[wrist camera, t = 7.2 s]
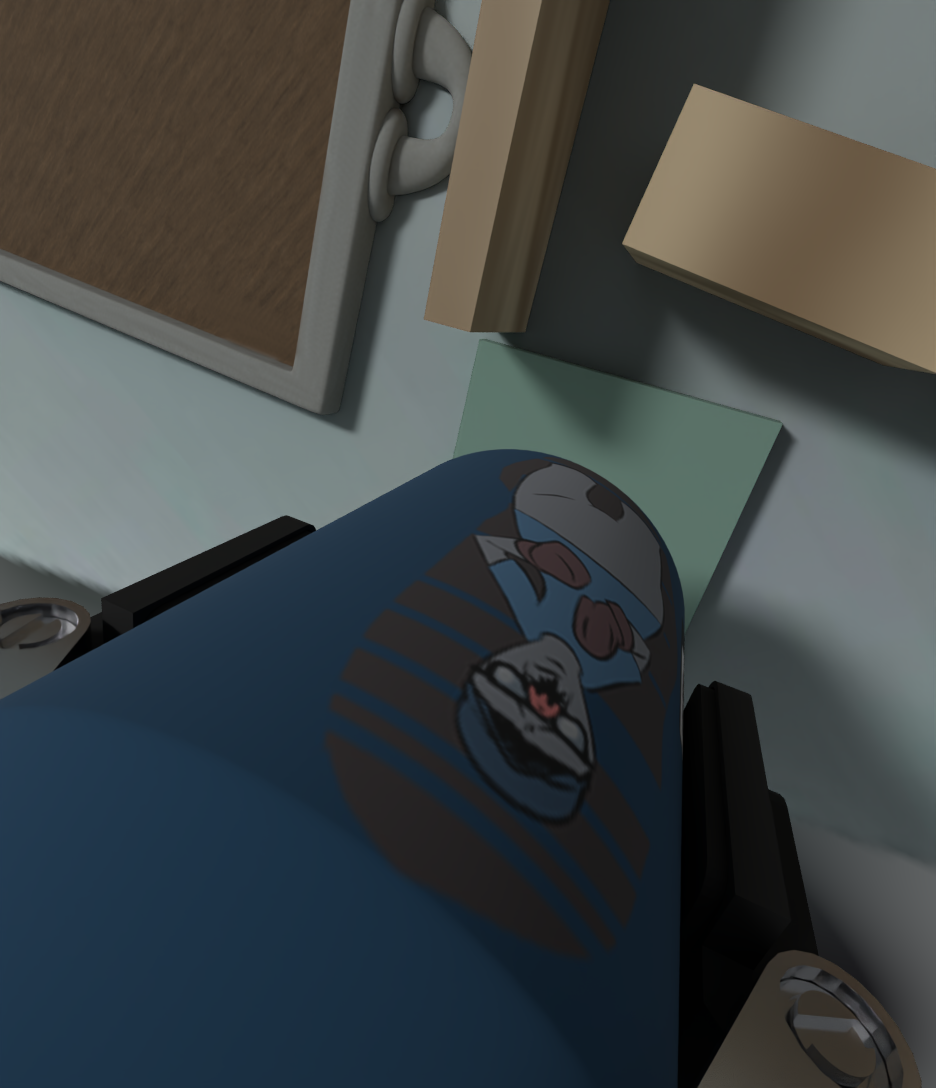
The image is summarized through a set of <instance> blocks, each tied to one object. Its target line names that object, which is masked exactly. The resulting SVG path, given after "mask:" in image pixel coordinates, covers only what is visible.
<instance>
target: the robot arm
mask: <svg viewBox="0 0 936 1088" xmlns="http://www.w3.org/2000/svg"><path fill="white" fill-rule="evenodd" d="M315 531H316V529H315V527H314V526H313V525H311V524H308V523H306V522H303V521H300V520H298V519H295V518H293V517H290V516H287V515H286V516H282V517H280V518H278V519H276V520H273V521H271V522H269V523H267V524H265V525H262V526H260V527H258V528H256V529H253V530H251V531H249V532H247V533H245V534H242V535H240V536H238V537H236V538H234V539H231V540H229V541H227V542H225V543H223V544H220V545H218V546H216V547H214V548H212V549H209V550H207V551H205V552H203V553H200V554H198V555H196V556H194V557H192V558H189V559H187V560H185V561H183V562H181V563H178V564H176V565H174V566H172V567H170V568H167V569H165V570H163V571H161V572H159V573H156V574H154V575H152V576H150V577H148V578H145V579H143V580H141V581H139V582H136V583H134V584H132V585H130V586H128V587H125V588H123V589H121V590H119V591H117V592H114V593H112V594H110V595H108V596H106V597H103V598H102V599H101V601H102V612H101V613H99V614H97V615H95V616H92V617H90V614H89V613H88V611H87V610H86V609H84V607H83V606H81V605H78V604H76V603H74V602H72V601H68V600H63V599H58V598H40V597H39V598H30V599H20V600H16V601H12V602H7V603H3V604H0V699H2V698H4V697H6V696H8V695H10V694H12V693H13V692H15V691H17V690H19V689H21V688H23V687H25V686H27V685H28V684H30V683H32V682H34V681H36V680H38V679H40V678H41V677H43V676H45V675H47V674H49V673H51V672H53V671H55V670H56V669H58V668H60V667H62V666H64V665H66V664H68V663H70V662H71V661H73V660H75V659H77V658H79V657H81V656H83V655H85V654H86V653H88V652H90V651H92V650H94V649H96V648H98V647H100V646H101V645H103V644H105V643H107V642H109V641H111V640H113V639H114V638H116V637H118V636H120V635H122V634H124V633H126V632H128V631H129V630H131V629H133V628H135V627H137V626H139V625H141V624H143V623H144V622H146V621H148V620H150V619H152V618H154V617H156V616H158V615H159V614H161V613H163V612H165V611H167V610H169V609H171V608H172V607H174V606H176V605H178V604H180V603H182V602H184V601H186V600H187V599H189V598H191V597H193V596H195V595H197V594H199V593H201V592H202V591H204V590H206V589H208V588H210V587H212V586H214V585H216V584H217V583H219V582H221V581H223V580H225V579H227V578H229V577H231V576H232V575H234V574H236V573H238V572H240V571H242V570H244V569H245V568H247V567H249V566H251V565H253V564H255V563H257V562H259V561H260V560H262V559H264V558H266V557H268V556H270V555H272V554H274V553H275V552H277V551H279V550H281V549H283V548H285V547H287V546H289V545H290V544H292V543H294V542H296V541H298V540H300V539H302V538H304V537H305V536H307V535H309V534H311V533H313V532H315ZM678 1088H921V1078H920V1075H919V1072H918V1068H917V1065H916V1062H915V1059H914V1056H913V1053H912V1052H911V1050H910V1048H909V1046H908V1044H907V1042H906V1041H905V1038H904V1037H903V1035H902V1033H901V1031H900V1030H899V1027H898V1026H897V1025H896V1024H895V1022H894V1021H893V1019H892V1018H891V1017H890V1016H889V1014H888V1013H887V1012H886V1010H885V1009H884V1008H883V1006H882V1005H881V1004H880V1002H879V1001H878V1000H877V999H876V998H875V997H874V996H873V995H872V994H870V993H869V992H868V990H866V989H865V988H864V987H863V986H862V985H861V984H860V983H859V982H858V981H857V980H856V979H855V978H853V977H852V976H851V975H849V974H848V973H846V972H845V971H843V970H842V969H841V968H839V967H838V966H837V965H835V964H834V963H832V962H830V961H827V960H825V959H823V958H821V957H819V955H818V951H817V946H816V941H815V936H814V932H813V927H812V922H811V917H810V913H809V908H808V903H807V899H806V894H805V889H804V884H803V880H802V875H801V870H800V865H799V861H798V856H797V851H796V846H795V841H794V837H793V832H792V827H791V822H790V818H789V813H788V808H787V805H786V802H785V799H784V798H783V797H782V796H781V795H780V794H778V793H776V792H773V791H771V790H769V789H768V786H767V781H766V775H765V769H764V764H763V758H762V752H761V747H760V741H759V735H758V730H757V724H756V718H755V713H754V707H753V701H752V697H751V695H750V694H748V693H745V692H743V691H740V690H737V689H735V688H732V687H730V686H727V685H725V684H722V683H719V682H717V681H714V682H712V683H711V684H710V686H709V687H706V686H703V685H700V684H698V685H697V686H696V688H695V689H694V691H693V693H692V695H691V697H690V699H689V701H688V703H687V705H686V707H685V709H684V711H683V771H682V837H681V902H680V967H679V1033H678Z"/></svg>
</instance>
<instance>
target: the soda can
mask: <svg viewBox="0 0 936 1088" xmlns="http://www.w3.org/2000/svg"><path fill="white" fill-rule="evenodd" d="M684 641H685V607H684V598H683V591H682V587H681V582H680V578H679V575H678V572H677V568H676V566H675V563H674V561H673V558H672V556H671V554H670V552H669V550H668V548H667V546H666V544H665V542H664V540H663V538H662V537H661V535H660V533H659V532H658V530H657V529H656V527H655V526H654V525H653V523H652V522H651V521H650V519H649V518H648V517H647V516H646V514H645V513H644V512H643V511H642V510H641V509H640V507H639V506H638V505H637V504H636V503H635V502H634V501H633V500H631V499H630V498H629V497H628V496H627V495H626V494H625V493H624V492H622V491H621V490H620V489H619V488H618V487H616V486H615V485H613V484H612V483H611V482H609V481H608V480H607V479H605V478H603V477H602V476H600V475H598V474H597V473H595V472H593V471H591V470H589V469H587V468H585V467H583V466H581V465H579V464H577V463H574V462H572V461H569V460H567V459H564V458H561V457H557V456H554V455H550V454H546V453H542V452H536V451H530V450H519V449H497V450H486V451H480V452H474V453H470V454H467V455H463V456H460V457H457V458H454V459H451V460H449V461H447V462H445V463H442V464H440V465H438V466H436V467H435V468H433V469H431V470H429V471H427V472H425V473H423V474H421V475H420V476H418V477H416V478H414V479H412V480H410V481H408V482H406V483H405V484H403V485H401V486H399V487H397V488H395V489H393V490H391V491H390V492H388V493H386V494H384V495H382V496H380V497H378V498H377V499H375V500H373V501H371V502H369V503H367V504H365V505H363V506H362V507H360V508H358V509H356V510H354V511H352V512H350V513H348V514H347V515H345V516H343V517H341V518H339V519H337V520H335V521H333V522H332V523H330V524H328V525H326V526H324V527H322V528H320V529H318V530H317V531H315V532H313V533H311V534H309V535H307V536H305V537H304V538H302V539H300V540H298V541H296V542H294V543H292V544H290V545H289V546H287V547H285V548H283V549H281V550H279V551H277V552H275V553H274V554H272V555H270V556H268V557H266V558H264V559H262V560H260V561H259V562H257V563H255V564H253V565H251V566H249V567H247V568H245V569H244V570H242V571H240V572H238V573H236V574H234V575H232V576H231V577H229V578H227V579H225V580H223V581H221V582H219V583H217V584H216V585H214V586H212V587H210V588H208V589H206V590H204V591H202V592H201V593H199V594H197V595H195V596H193V597H191V598H189V599H187V600H186V601H184V602H182V603H180V604H178V605H176V606H174V607H172V608H171V609H169V610H167V611H165V612H163V613H161V614H159V615H158V616H156V617H154V618H152V619H150V620H148V621H146V622H144V623H143V624H141V625H139V626H137V627H135V628H133V629H131V630H129V631H128V632H126V633H124V634H122V635H120V636H118V637H116V638H114V639H113V640H111V641H109V642H107V643H105V644H103V645H101V646H100V647H98V648H96V649H94V650H92V651H90V652H88V653H86V654H85V655H83V656H81V657H79V658H77V659H75V660H73V661H71V662H70V663H68V664H66V665H64V666H62V667H60V668H58V669H56V670H55V671H53V672H51V673H49V674H47V675H45V676H43V677H41V678H40V679H38V680H36V681H34V682H32V683H30V684H28V685H27V686H25V687H23V688H21V689H19V690H17V691H15V692H13V693H12V694H10V695H8V696H6V697H4V698H2V699H0V1088H678V1033H679V967H680V902H681V837H682V771H683V706H684Z"/></svg>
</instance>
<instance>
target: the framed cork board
mask: <svg viewBox="0 0 936 1088" xmlns="http://www.w3.org/2000/svg"><path fill="white" fill-rule="evenodd" d="M434 5H435V0H0V281H1V282H4V283H6V284H9V285H11V286H13V287H16V288H18V289H20V290H23V291H25V292H28V293H30V294H32V295H35V296H37V297H39V298H42V299H44V300H47V301H49V302H51V303H54V304H56V305H59V306H61V307H63V308H66V309H68V310H70V311H73V312H75V313H78V314H80V315H82V316H85V317H87V318H89V319H92V320H94V321H97V322H99V323H101V324H104V325H106V326H108V327H111V328H113V329H116V330H118V331H120V332H123V333H125V334H128V335H130V336H132V337H135V338H137V339H139V340H142V341H144V342H147V343H149V344H151V345H154V346H156V347H158V348H161V349H163V350H166V351H168V352H170V353H173V354H175V355H177V356H180V357H182V358H185V359H187V360H189V361H192V362H194V363H196V364H199V365H201V366H204V367H206V368H208V369H211V370H213V371H216V372H218V373H220V374H223V375H225V376H227V377H230V378H232V379H235V380H237V381H239V382H242V383H244V384H246V385H249V386H251V387H254V388H256V389H258V390H261V391H263V392H265V393H268V394H270V395H273V396H275V397H277V398H280V399H282V400H285V401H287V402H289V403H292V404H294V405H296V406H299V407H301V408H304V409H306V410H309V411H311V412H314V413H317V414H320V415H328V414H333V413H337V412H338V411H339V408H340V405H341V400H342V395H343V391H344V386H345V381H346V375H347V370H348V365H349V360H350V355H351V350H352V345H353V340H354V335H355V330H356V325H357V320H358V315H359V310H360V305H361V300H362V294H363V289H364V284H365V279H366V274H367V269H368V264H369V259H370V254H371V249H372V244H373V239H374V234H375V229H376V224H377V222H381V221H383V220H385V219H386V218H387V217H388V216H389V214H390V213H391V211H392V208H393V204H394V197H395V195H402V194H409V193H413V192H417V191H421V190H424V189H426V188H429V187H431V186H433V185H435V184H437V183H439V182H440V181H441V180H443V179H444V178H445V177H447V176H448V175H450V173H451V168H452V162H453V157H454V151H455V146H456V140H457V135H458V129H459V124H460V118H461V113H462V107H463V102H464V96H465V91H466V86H467V80H468V75H469V69H470V64H471V58H472V54H471V51H470V49H469V46H468V45H467V43H466V42H465V41H464V39H463V38H462V36H461V35H460V33H459V32H458V31H457V30H456V29H455V28H454V27H453V26H452V25H451V24H450V23H449V22H448V21H447V20H446V19H445V18H444V17H442V16H441V15H440V14H438V13H437V12H436V11H434ZM419 79H423V80H427V81H431V82H433V83H436V84H439V85H441V86H443V87H444V88H446V89H448V91H449V92H450V93H451V95H452V98H453V111H452V116H451V119H450V122H449V125H448V127H447V128H446V130H445V132H444V133H443V134H442V135H441V136H440V137H438V138H435V139H430V140H424V139H418V138H412V137H409V136H408V125H407V120H406V117H405V115H404V113H403V112H402V110H400V109H399V107H400V103H401V104H405V103H407V102H409V101H410V100H411V99H412V98H413V96H414V95H415V93H416V90H417V87H418V83H419Z"/></svg>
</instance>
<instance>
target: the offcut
mask: <svg viewBox="0 0 936 1088" xmlns="http://www.w3.org/2000/svg"><path fill="white" fill-rule="evenodd" d="M622 244H623V245H624V247H625V248H626V249H627V251H628V252H629V253H630V255H631V256H632V257H633V259H634V260H635V261H636V263H638V264H641V265H643V266H646V267H648V268H650V269H653V270H655V271H658V272H660V273H662V274H665V275H667V276H670V277H672V278H674V279H677V280H679V281H682V282H684V283H686V284H689V285H691V286H694V287H696V288H699V289H701V290H703V291H706V292H708V293H711V294H713V295H715V296H718V297H720V298H723V299H725V300H727V301H730V302H732V303H735V304H737V305H739V306H742V307H744V308H747V309H749V310H751V311H754V312H756V313H759V314H761V315H763V316H766V317H768V318H771V319H773V320H775V321H778V322H780V323H783V324H785V325H787V326H790V327H792V328H795V329H797V330H799V331H802V332H804V333H807V334H809V335H811V336H814V337H816V338H819V339H821V340H823V341H826V342H828V343H831V344H833V345H836V346H838V347H840V348H843V349H845V350H848V351H850V352H852V353H855V354H857V355H860V356H862V357H864V358H867V359H869V360H872V361H874V362H876V363H879V364H881V365H884V366H890V367H896V368H902V369H908V370H914V371H920V372H926V373H932V374H936V169H935V168H932V167H929V166H926V165H923V164H921V163H918V162H915V161H912V160H909V159H906V158H904V157H901V156H898V155H895V154H892V153H889V152H887V151H884V150H881V149H878V148H875V147H872V146H870V145H867V144H864V143H861V142H858V141H855V140H853V139H850V138H847V137H844V136H841V135H838V134H836V133H833V132H830V131H827V130H824V129H821V128H819V127H816V126H813V125H810V124H807V123H804V122H802V121H799V120H796V119H793V118H790V117H787V116H785V115H782V114H779V113H776V112H773V111H770V110H768V109H765V108H762V107H759V106H756V105H753V104H751V103H748V102H745V101H742V100H739V99H736V98H734V97H731V96H728V95H725V94H722V93H719V92H717V91H714V90H711V89H708V88H705V87H702V86H700V85H697V84H694V85H693V87H692V89H691V91H690V94H689V96H688V98H687V100H686V103H685V105H684V107H683V109H682V111H681V114H680V116H679V118H678V120H677V123H676V125H675V127H674V129H673V131H672V134H671V136H670V138H669V140H668V143H667V145H666V147H665V149H664V151H663V154H662V156H661V158H660V160H659V163H658V165H657V167H656V169H655V171H654V174H653V176H652V178H651V180H650V183H649V185H648V187H647V189H646V192H645V194H644V196H643V198H642V200H641V203H640V205H639V207H638V209H637V212H636V214H635V216H634V218H633V220H632V223H631V225H630V227H629V229H628V232H627V234H626V236H625V238H624V240H623V243H622Z"/></svg>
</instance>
